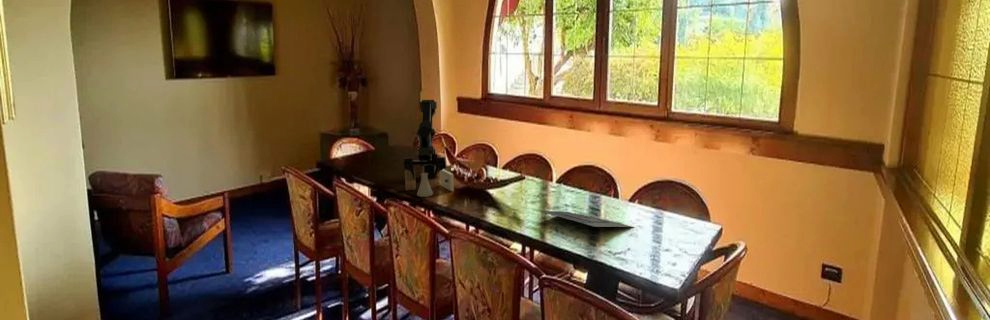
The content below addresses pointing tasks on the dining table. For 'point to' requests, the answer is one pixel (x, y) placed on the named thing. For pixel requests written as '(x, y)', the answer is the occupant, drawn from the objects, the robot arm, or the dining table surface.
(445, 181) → the door
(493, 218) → the dining table surface
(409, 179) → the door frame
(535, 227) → the dining table surface
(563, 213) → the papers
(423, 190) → the flask
